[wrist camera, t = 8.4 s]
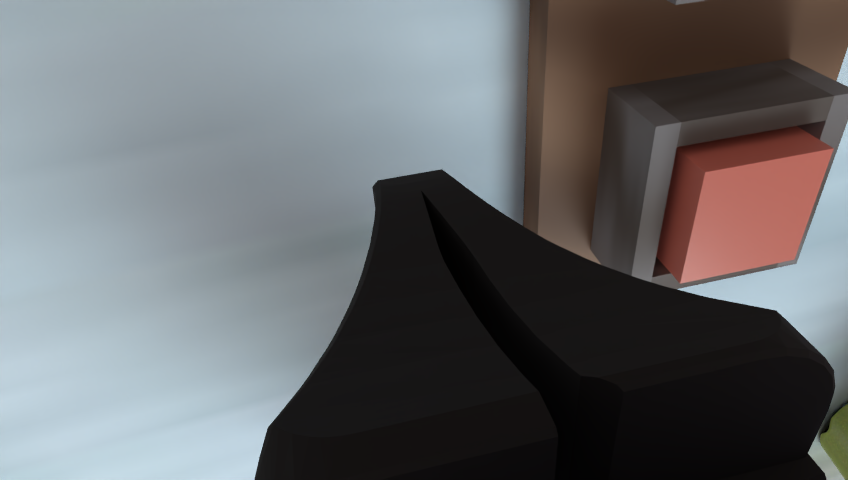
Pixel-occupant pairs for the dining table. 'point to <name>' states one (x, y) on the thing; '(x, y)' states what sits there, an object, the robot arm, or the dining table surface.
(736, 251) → the red button
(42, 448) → the dining table surface
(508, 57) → the dining table surface
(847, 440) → the plant pot
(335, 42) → the dining table surface
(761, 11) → the block
